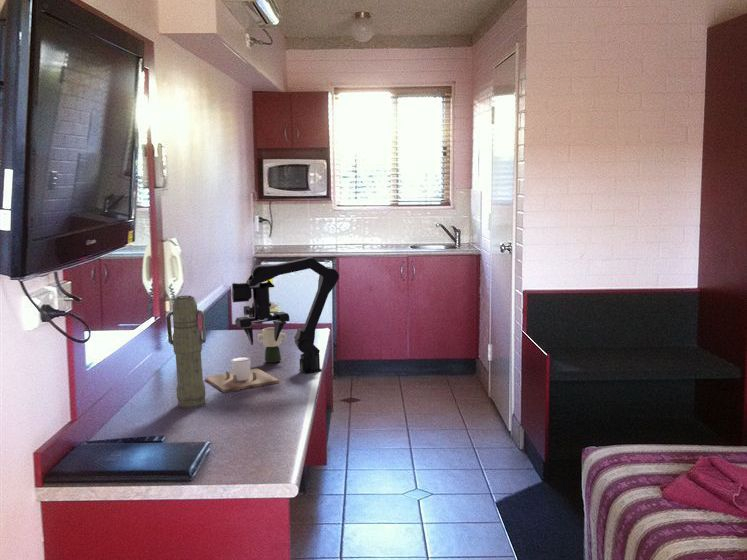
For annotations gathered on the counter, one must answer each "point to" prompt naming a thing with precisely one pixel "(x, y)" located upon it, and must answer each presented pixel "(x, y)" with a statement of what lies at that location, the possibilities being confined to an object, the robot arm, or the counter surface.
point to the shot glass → (241, 368)
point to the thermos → (187, 351)
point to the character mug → (271, 344)
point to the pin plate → (230, 381)
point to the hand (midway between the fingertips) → (263, 343)
